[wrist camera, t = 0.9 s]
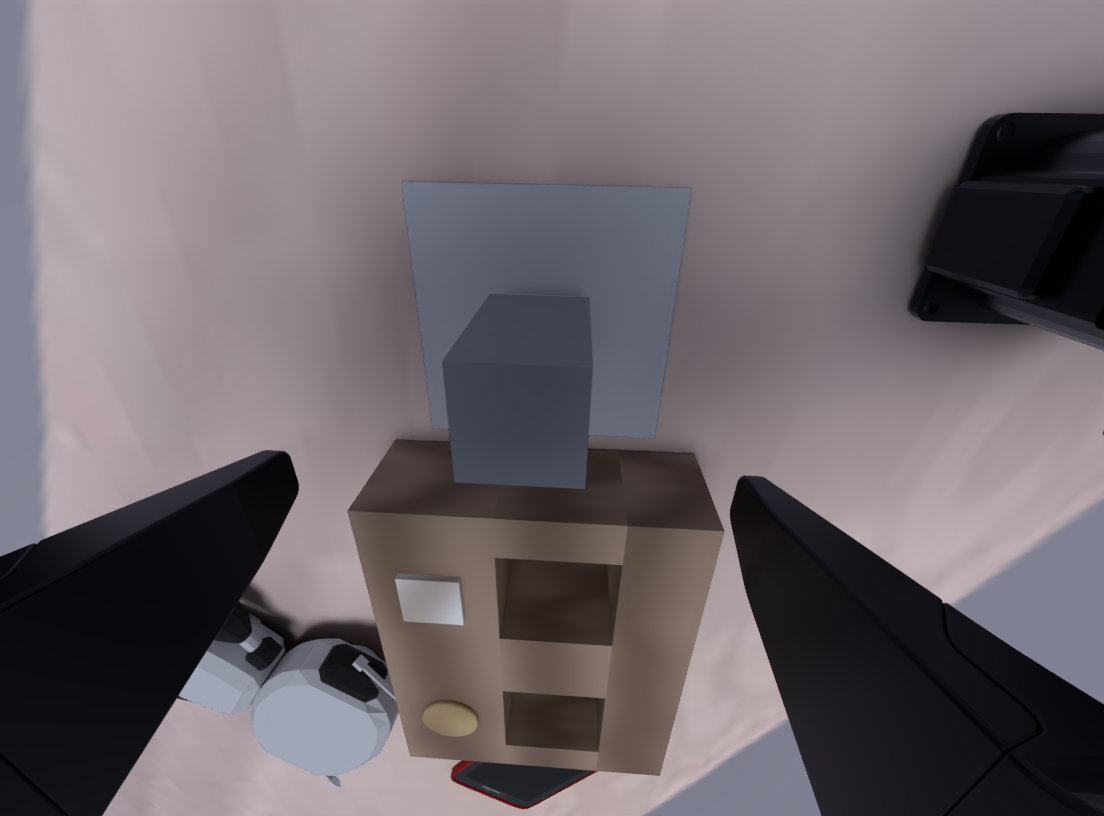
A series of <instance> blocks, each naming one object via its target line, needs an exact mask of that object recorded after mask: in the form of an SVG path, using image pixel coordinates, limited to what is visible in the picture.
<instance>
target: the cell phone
mask: <svg viewBox="0 0 1104 816" xmlns="http://www.w3.org/2000/svg"><path fill="white" fill-rule="evenodd" d="M595 772H597V771H593V770H580V769H567V768H555V767H542V766H529V765H516V764H503V763H490V762H478V761H465V760H462V761H461V762H459V763H458V764H457V765H455V766H454V767H453V769H452V773H451V779H452V781H454V782H455V783H457V784H460V785H462V786H464V787H467V788H469V789H471V790H474V791H476V792H479V793H481V794H484V795H486V796H489V797H491V798H493V799H496V800H498V801H501V802H503V803H506V804H508V805H511V806H513V807H516V808H520V809H528V808H530V807H533V806H535V805H537V804H539V803H540V802H542V801H544V800H546V799H548V798H550V797H551V796H553V795H555V794H557V793H559V792H561V791H562V790H564V789H566V788H568V787H570V786H572V785H573V784H575V783H577V782H579V781H581V780H583V779H584V778H586V777H588V776H590V775H592V774H594V773H595ZM554 792H555V793H554ZM545 797H546V798H545Z"/></svg>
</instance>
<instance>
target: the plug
mask: <svg viewBox="0 0 1104 816" xmlns="http://www.w3.org/2000/svg"><path fill="white" fill-rule="evenodd" d="M442 369H443V379H444V388H445V397H446V407H447V416H448V426H449V435H450V445H451V454H452V463H453V473H454V482H457V483H476V484H496V485H515V486H535V487H555V488H574V489H585V483H586V468H587V453H588V438H589V423H590V407H591V392H592V377H593V355H592V336H591V318H590V299H589V297H575V296H554V295H524V294H512V295H509V294H489V295H488V297H487V298H486V300H485V301H484V302H483V304H482V305H481V307H480V308H479V310H478V311H477V312H476V314H475V315H474V317H473V318H472V319H471V321H470V322H469V324H468V325H467V326H466V328H465V329H464V331H463V332H462V333H461V335H460V336H459V338H458V339H457V340H456V342H455V343H454V345H453V346H452V347H451V349H450V350H449V352H448V353H447V354H446V356H445V357H444V359H443V360H442Z"/></svg>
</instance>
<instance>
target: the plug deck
mask: <svg viewBox="0 0 1104 816" xmlns="http://www.w3.org/2000/svg"><path fill="white" fill-rule="evenodd" d="M691 189H692V188H688V187H642V186H597V185H551V184H506V183H460V182H415V181H403V182H402V190H403V198H404V206H405V214H406V222H407V230H408V237H409V245H410V253H411V261H412V269H413V277H414V285H415V293H416V301H417V309H418V317H419V325H420V333H421V341H422V349H423V357H424V365H425V373H426V381H427V388H428V396H429V404H430V412H431V420H432V428H444V429H449V426H448V416H447V407H446V397H445V388H444V379H443V369H442V360H443V359H444V357H445V356H446V354H447V353H448V352H449V350H450V349H451V347H452V346H453V345H454V343H455V342H456V340H457V339H458V338H459V336H460V335H461V333H462V332H463V331H464V329H465V328H466V326H467V325H468V324H469V322H470V321H471V319H472V318H473V317H474V315H475V314H476V312H477V311H478V310H479V308H480V307H481V305H482V304H483V302H484V301H485V300H486V298H487V297H488V295H489V294H509V295H512V294H524V295H554V296H575V297H589V299H590V318H591V336H592V355H593V377H592V392H591V407H590V423H589V435H597V436H619V437H641V438H655V433H656V426H657V419H658V412H659V405H660V399H661V392H662V385H663V378H664V372H665V365H666V358H667V351H668V345H669V338H670V331H671V324H672V318H673V311H674V304H675V297H676V291H677V284H678V277H679V270H680V263H681V257H682V250H683V243H684V236H685V230H686V223H687V216H688V209H689V203H690V196H691Z"/></svg>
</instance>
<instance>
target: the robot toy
mask: <svg viewBox="0 0 1104 816" xmlns="http://www.w3.org/2000/svg"><path fill="white" fill-rule="evenodd" d="M260 622H261V620H260V619H258V618H257V617H255V616H253V615H251V614H250V613H249V611H248V609H247V608H246V607H245V606H244V605H243V604H241V603H240V602H238V603H237V605H236V606H235V608H234V609H233V611H232V613H231V614H230V616H229V617H228V619H227V620H226V622H225V624H224V625H223V627H222V628H221V630H220V631H219V633H218V635H217V636H216V638H215V639H214V641H213V642H212V644H211V646H210V647H209V649H208V650H207V652H206V653H205V655H204V656H203V658H202V660H201V661H200V663H199V664H198V666H197V667H196V669H195V671H194V672H193V674H192V675H191V677H190V678H189V680H188V682H187V683H186V685H185V686H184V688H183V689H182V691H181V693H180V694H179V696H178V697H177V699H182V700H186V701H191V702H194V703H197V704H199V705H202V706H204V707H207V708H210V709H212V710H215V711H218V712H221V713H224V714H227V715H233V714H236V713H238V712H241V711H244V710H246V709H248V708H249V706H250V705H251V703H252V702H253V703H252V708H251V723H252V728H253V733H254V737H255V739H256V741H257V742H258V743H259V744H260V746H261V747H262V748H263V749H264V751H265V752H266V753H268V754H271V755H273V756H275V757H277V758H279V759H282V760H284V761H286V762H288V763H290V764H293V765H295V766H297V767H299V768H301V769H303V770H306V771H308V772H310V773H312V774H314V775H323V776H325V777H326V778H327V779H328V780H329V783H330V784H331V785H332V786H333V787H340V788H341V785H340V780H339V779H338V778H337V777H336V776H337V775H341V774H344V773H346V772H349V771H352V770H354V769H356V768H358V767H360V766H362V765H364V764H365V763H367V762H368V761H370V760H371V759H373V758H374V757H376V756H377V755H379V754H380V753H381V751H382V749H383V747H384V745H385V743H386V741H387V739H388V737H389V734H390V732H391V729H392V727H393V725H394V722H395V720H396V717H397V715H398V712H399V710H398V706H397V702H396V699H395V695H394V691H393V687H392V683H391V679H390V675H389V671H388V667H387V663H386V662H384V661H382V660H380V659H379V658H378V656H377V655H376V654H375V653H374V652H373V651H372V650H371V649H369V648H368V647H365V646H362V645H351V644H349V643H347V642H345V641H343V640H341V639H339V638H334V639H317V640H312V641H308V642H304V643H302V644H300V645H298V646H296V647H295V648H293V649H292V650H290V651H289V652H288V653H287V654H286V655H285V656H284V657H283V658H282V656H283V654H284V653H285V649H284V642H283V638H282V637H281V636H279V635H278V634H276V633H275V632H273V631H272V630H270V629H269V628H267V627H266V626H264V625H262V624H261V623H260ZM281 658H282V659H281Z"/></svg>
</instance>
